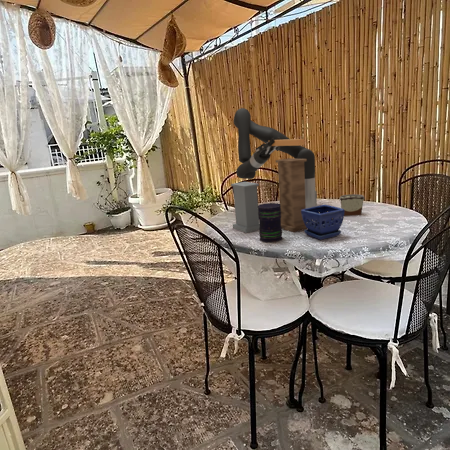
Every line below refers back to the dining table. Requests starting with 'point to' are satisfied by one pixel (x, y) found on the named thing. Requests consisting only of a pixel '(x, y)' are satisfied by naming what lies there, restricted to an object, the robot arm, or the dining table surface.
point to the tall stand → (292, 193)
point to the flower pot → (323, 221)
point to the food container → (352, 204)
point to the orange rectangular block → (289, 142)
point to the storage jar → (270, 222)
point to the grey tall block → (246, 206)
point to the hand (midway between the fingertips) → (276, 139)
